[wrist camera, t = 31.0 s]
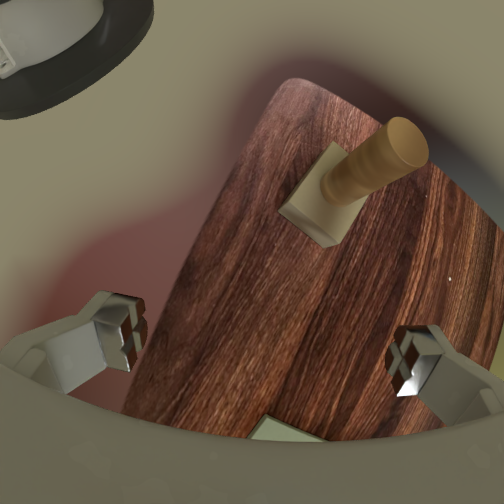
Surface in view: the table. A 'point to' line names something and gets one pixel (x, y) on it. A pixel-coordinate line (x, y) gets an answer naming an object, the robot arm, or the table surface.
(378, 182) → the stamp
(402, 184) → the table surface
